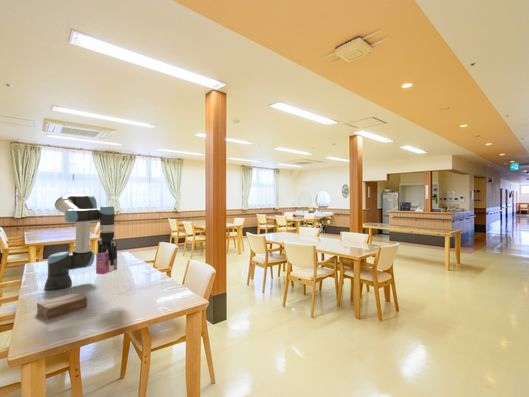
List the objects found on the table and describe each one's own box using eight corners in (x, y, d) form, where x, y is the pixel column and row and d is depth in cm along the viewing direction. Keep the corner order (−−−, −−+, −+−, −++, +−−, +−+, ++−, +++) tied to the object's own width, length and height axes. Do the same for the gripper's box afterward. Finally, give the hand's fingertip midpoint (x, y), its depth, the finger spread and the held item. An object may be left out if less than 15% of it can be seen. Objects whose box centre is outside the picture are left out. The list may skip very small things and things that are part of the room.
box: (104, 274, 153) (104, 254, 153) (95, 273, 154) (95, 253, 154) (117, 269, 163) (117, 250, 163) (109, 269, 164) (109, 250, 164)
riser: (37, 314, 142) (37, 302, 142) (75, 302, 157) (75, 292, 157) (48, 320, 135) (48, 308, 135) (86, 307, 150) (87, 297, 150)
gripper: (90, 231, 159) (90, 269, 159) (112, 233, 151) (112, 273, 151) (102, 230, 166) (102, 266, 166) (124, 231, 158) (123, 270, 158)
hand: (106, 270), depth 159 cm, fingers closed on box, 6 cm apart
